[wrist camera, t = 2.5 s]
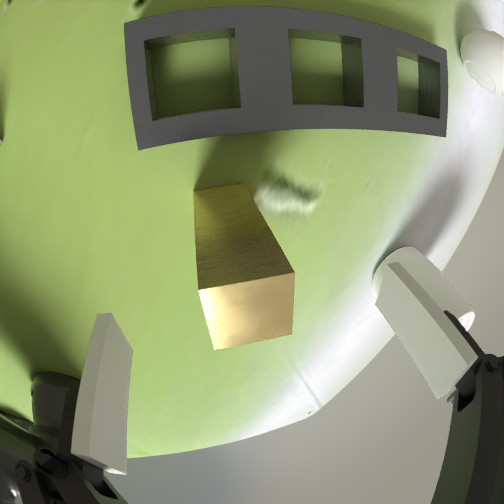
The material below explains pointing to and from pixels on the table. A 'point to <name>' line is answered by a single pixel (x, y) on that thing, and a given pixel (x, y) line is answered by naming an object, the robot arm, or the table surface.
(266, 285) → the wooden peg
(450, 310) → the beverage can
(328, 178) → the table surface
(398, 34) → the grey slotted holder
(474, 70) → the white rounded lump
